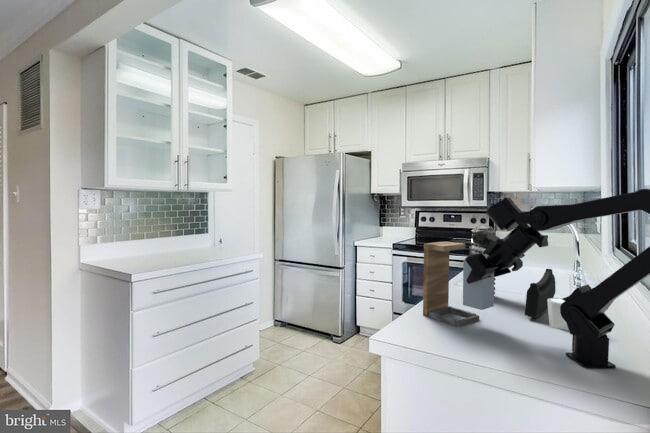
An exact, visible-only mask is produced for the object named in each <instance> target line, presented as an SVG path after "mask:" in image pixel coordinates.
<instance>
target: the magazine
mask: <svg viewBox="0 0 650 433" xmlns="http://www.w3.org/2000/svg"><path fill="white" fill-rule="evenodd" d="M555 295H556V277H555V275H554V273H553V269H552V268H545V272H544V274H543V275H542V277H541V279H540V280H539V281H537V282H536V283H535V282H530V284H529V287H528V289H527V291H526V296H525V308H524V316H527V317H529V318H533V319H534V318H539V317H540V316H542V315H543V314H544V313H545V312H546V311H548V301H547V299H549V298H555Z"/></svg>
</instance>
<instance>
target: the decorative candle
mask: <svg viewBox="0 0 650 433" xmlns="http://www.w3.org/2000/svg"><path fill="white" fill-rule="evenodd" d="M483 230H485V231H488V232H490V233H492V234H494V235H495V236H496V230H494V228H493V227H492V226H488V225H486V226H485V225H477V226H476V225H475V226H474V227H473V229H472V230H470V231H471V232H472V234H471V239H470V240H471V241H470V242H469V245H470V246H469V251H468V253H469V254H473V253H482V254H483V255H484V256H485V257H488V256H489V255H487V254H486V253H485V252H484V250H486V249H485V248H483V247H481V246H480V245H478V244H475V243H474V242H473V237H472V235H473V234H475V233H476V232H477V231H483ZM495 281H496V277H494V299H495V297H496V296H495V295H496V292H495V291H496V287H495V285H496V282H495Z"/></svg>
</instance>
